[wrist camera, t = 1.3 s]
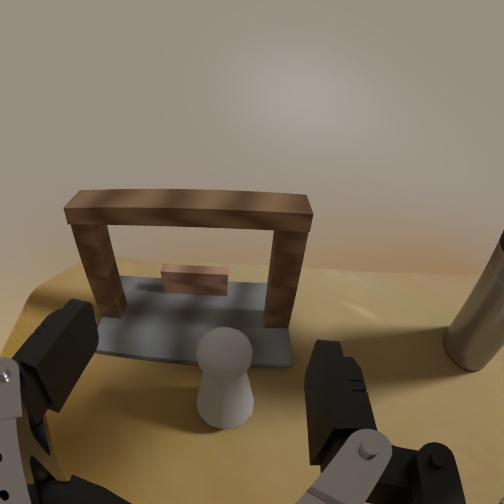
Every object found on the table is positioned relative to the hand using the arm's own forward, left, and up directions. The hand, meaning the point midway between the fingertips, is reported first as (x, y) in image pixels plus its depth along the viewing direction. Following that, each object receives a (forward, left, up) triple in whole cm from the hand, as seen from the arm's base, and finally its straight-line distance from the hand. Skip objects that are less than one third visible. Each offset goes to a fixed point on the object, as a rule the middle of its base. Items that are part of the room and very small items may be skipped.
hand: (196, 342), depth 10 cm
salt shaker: (-3, -7, -23) cm, 24 cm away
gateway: (-3, -21, -23) cm, 31 cm away
